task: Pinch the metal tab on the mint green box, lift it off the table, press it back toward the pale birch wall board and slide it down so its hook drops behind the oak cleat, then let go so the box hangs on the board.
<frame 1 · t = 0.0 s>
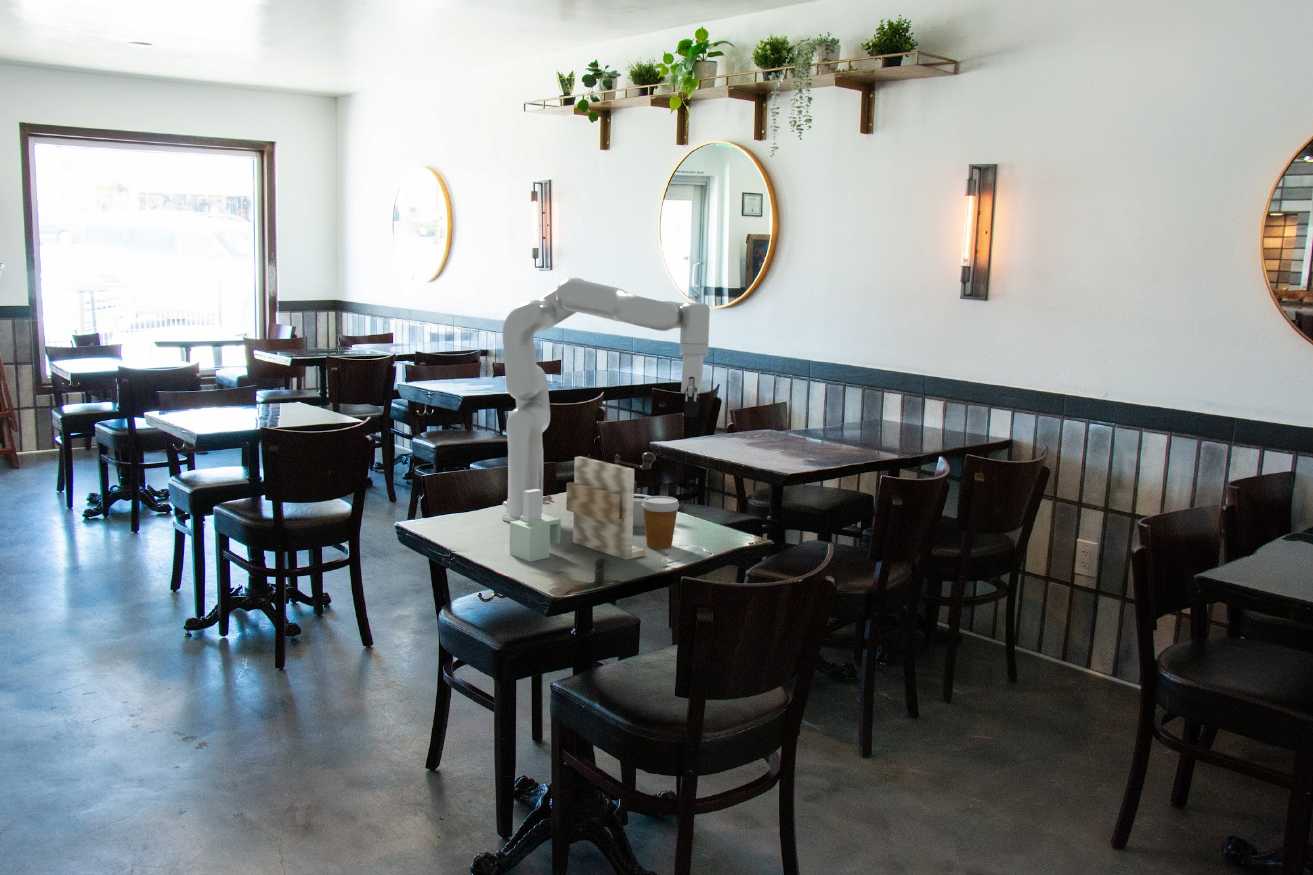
hand: (691, 414, 276), 31 cm above the table, tool pointing down, fingers open, 9 cm apart
disposable coffee cup: (659, 546, 262), on the table
mint green box: (529, 555, 250), on the table
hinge: (632, 526, 283), on the table
wall board: (601, 550, 257), on the table
pepper mill: (624, 512, 298), on the table
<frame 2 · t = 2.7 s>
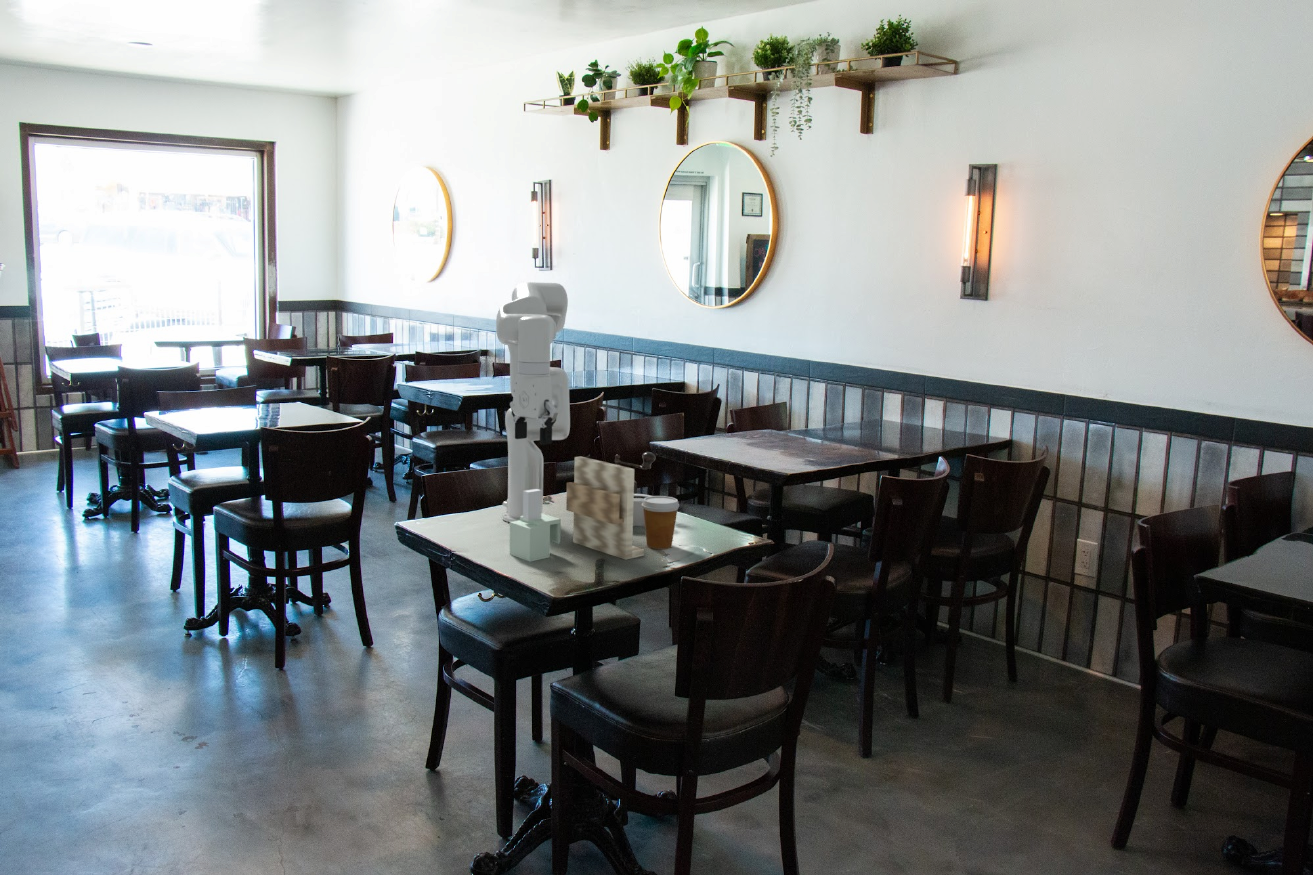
hand: (533, 441, 246), 28 cm above the table, tool pointing down, fingers open, 9 cm apart
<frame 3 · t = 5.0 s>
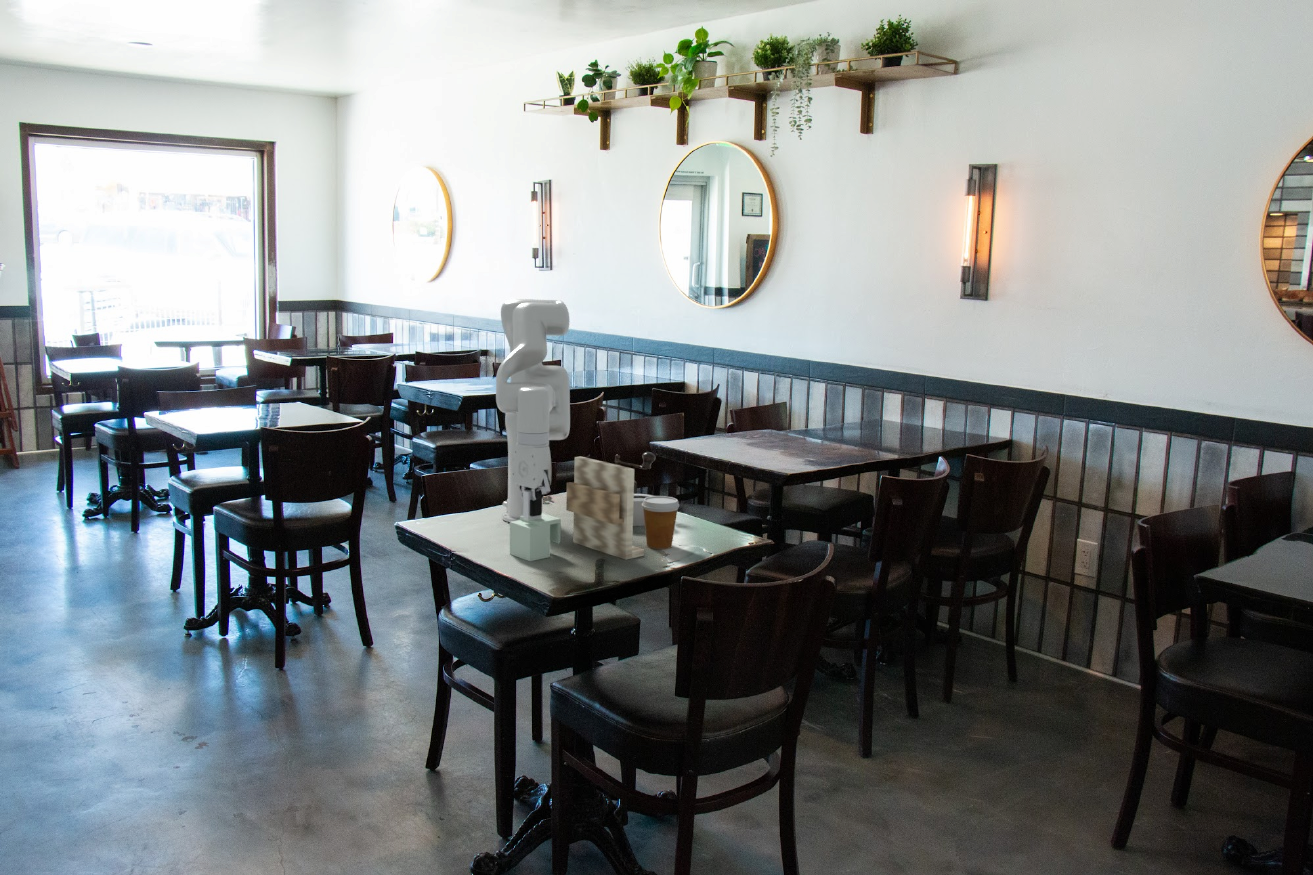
hand: (532, 513, 249), 10 cm above the table, tool pointing down, fingers closed on mint green box
mint green box: (529, 555, 250), on the table, touching gripper
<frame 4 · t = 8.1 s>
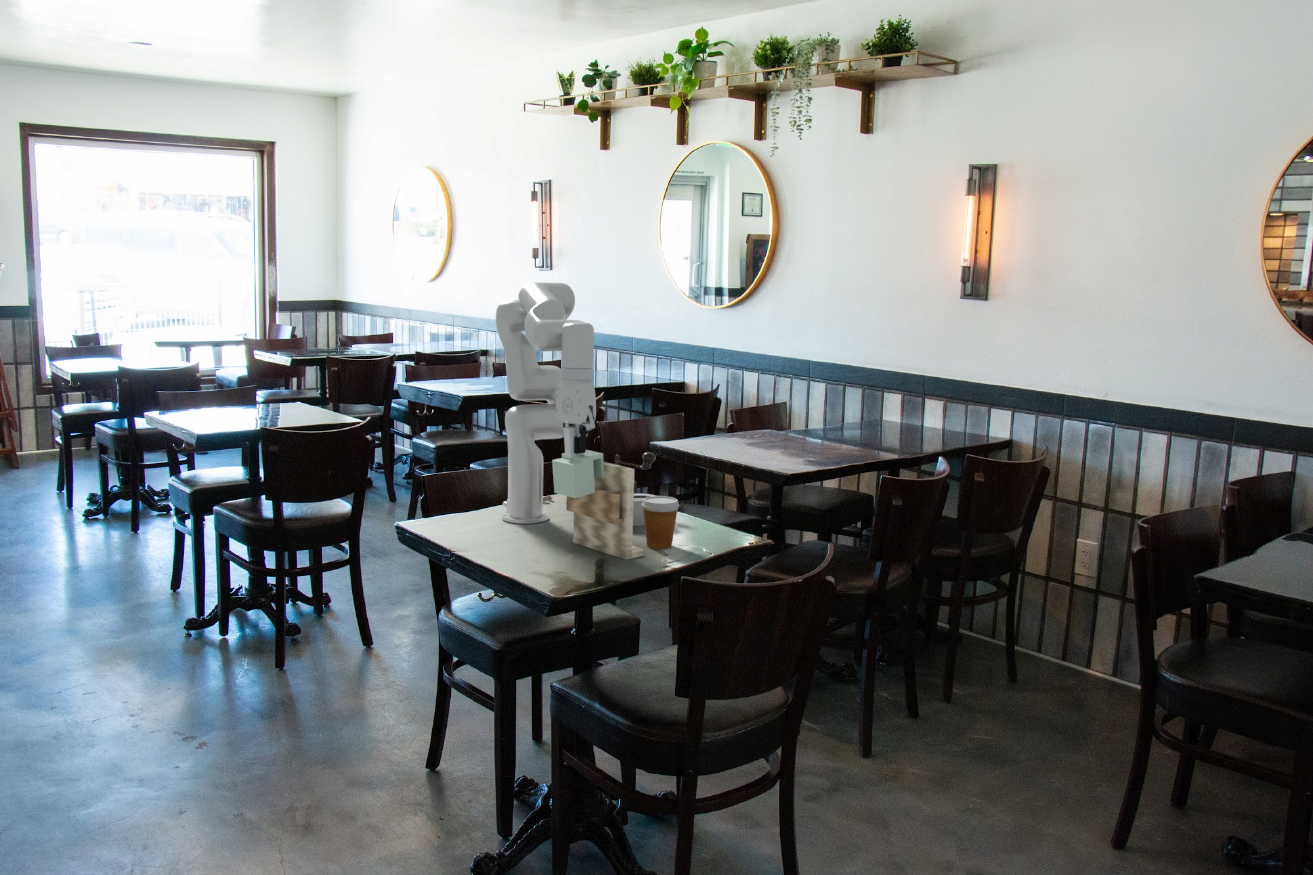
hand: (576, 451, 246), 26 cm above the table, tool pointing down, fingers closed on mint green box
mint green box: (574, 492, 248), point 16 cm above the table, tilted 5°, touching gripper
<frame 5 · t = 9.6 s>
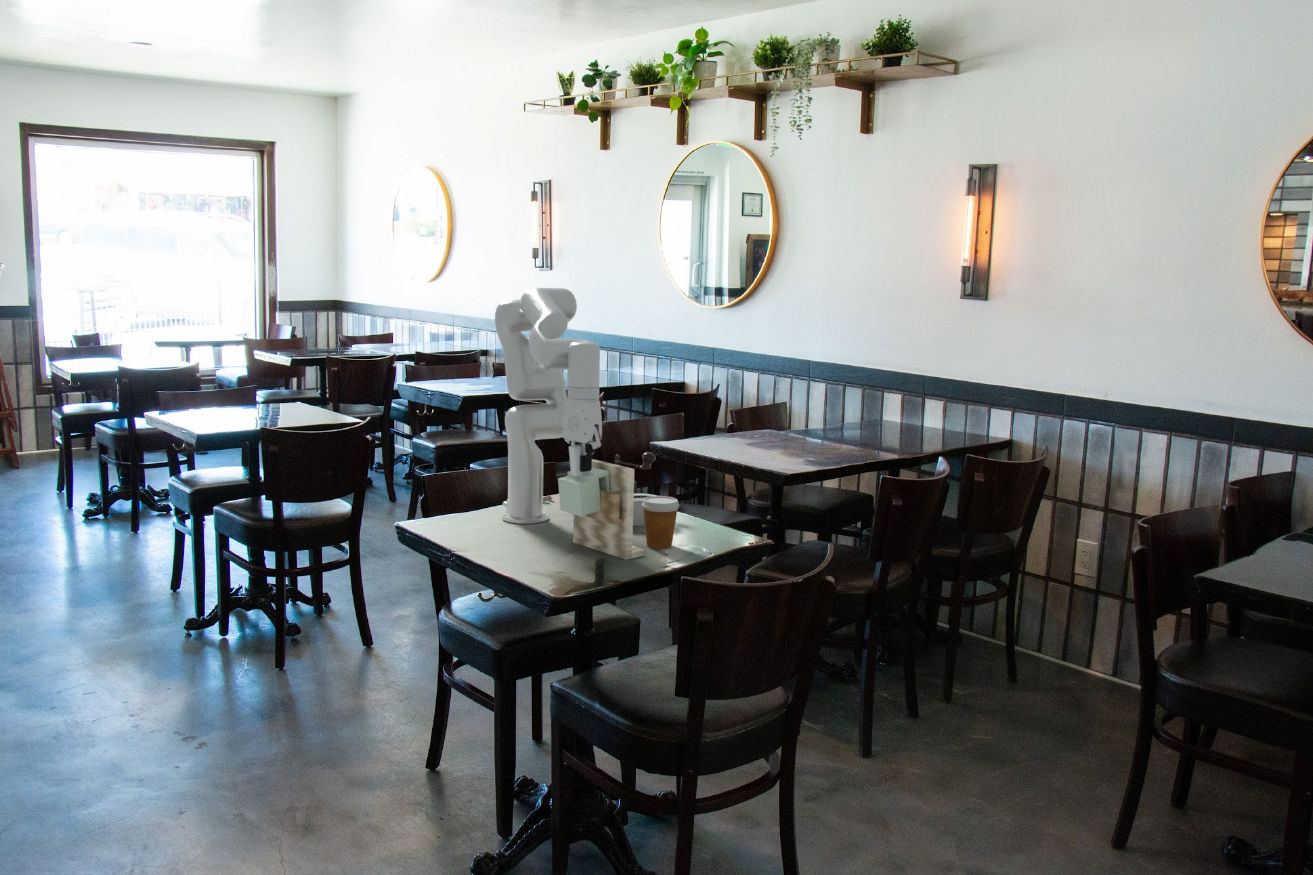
hand: (582, 469, 249), 21 cm above the table, tool pointing down, fingers closed on mint green box
mint green box: (580, 510, 250), point 11 cm above the table, tilted 7°, touching gripper
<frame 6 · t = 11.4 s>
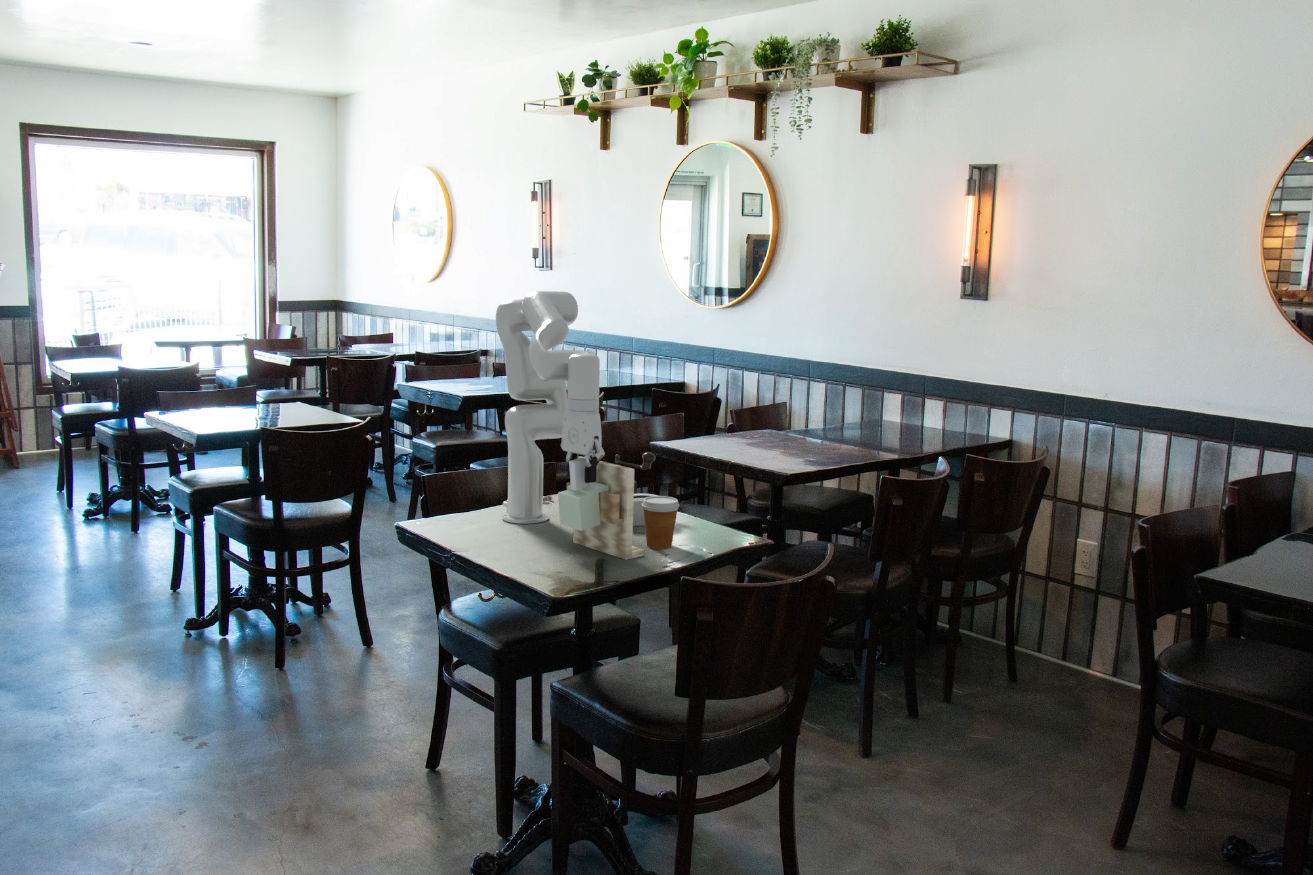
hand: (581, 479, 249), 19 cm above the table, tool pointing down, fingers open, 5 cm apart
mint green box: (580, 524, 251), point 8 cm above the table, tilted 6°, touching wall board
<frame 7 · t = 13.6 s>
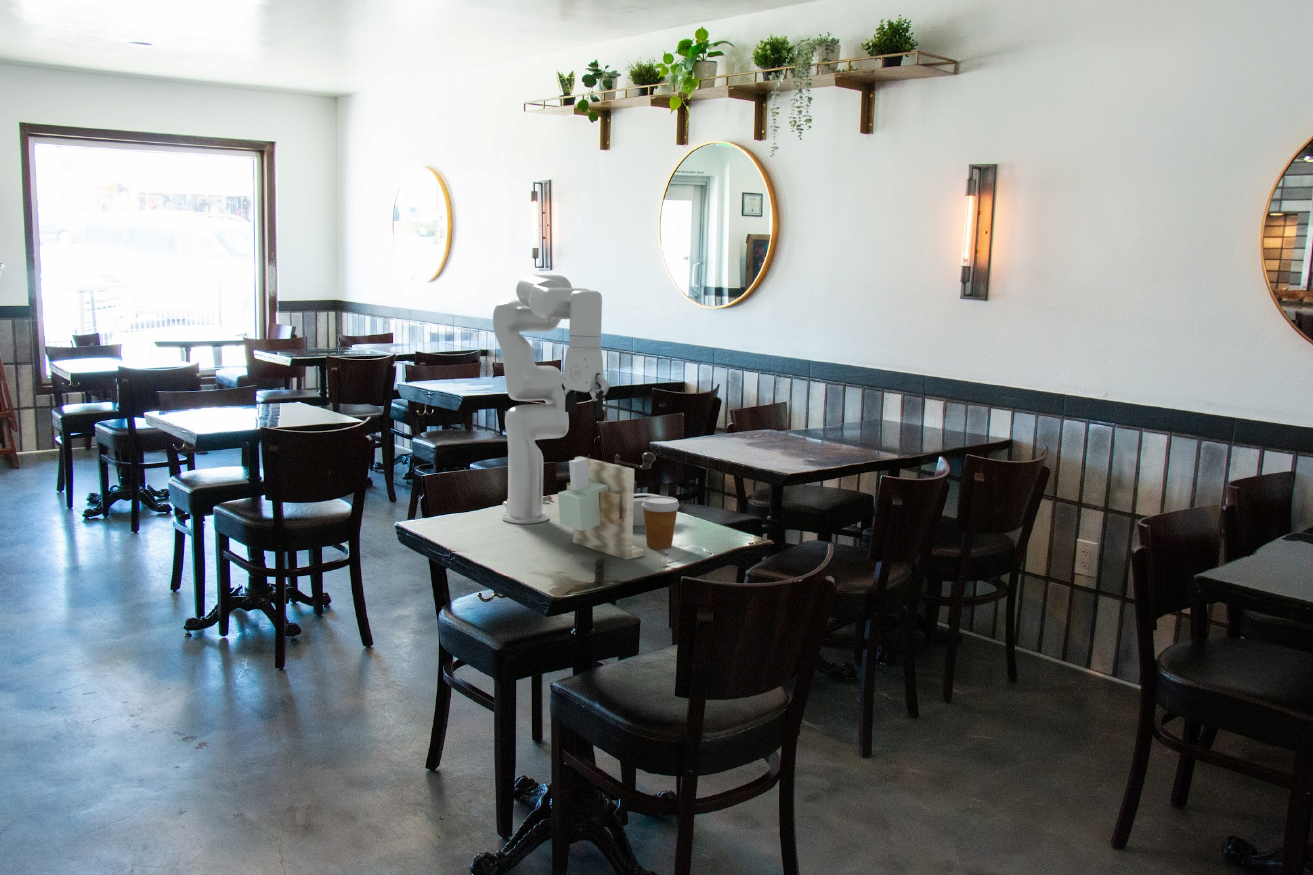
hand: (583, 414, 248), 34 cm above the table, tool pointing down, fingers open, 9 cm apart
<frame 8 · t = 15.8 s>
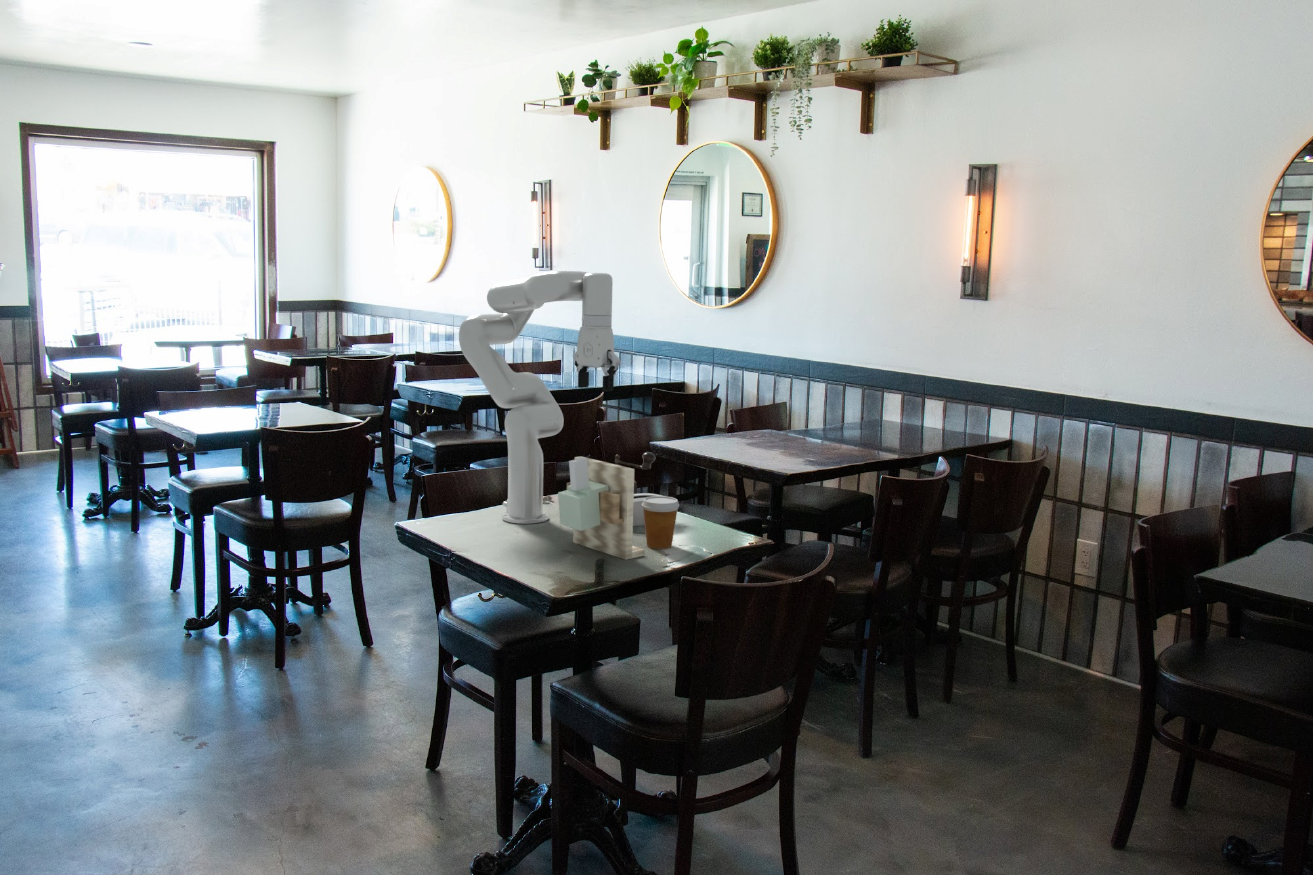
hand: (595, 389, 265), 38 cm above the table, tool pointing down, fingers open, 9 cm apart
at the end: mint green box inside the target area on the wall board (0.7 cm from its centre), point 7.6 cm above the wall board's base; mint green box touching wall board; the gripper is holding nothing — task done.
